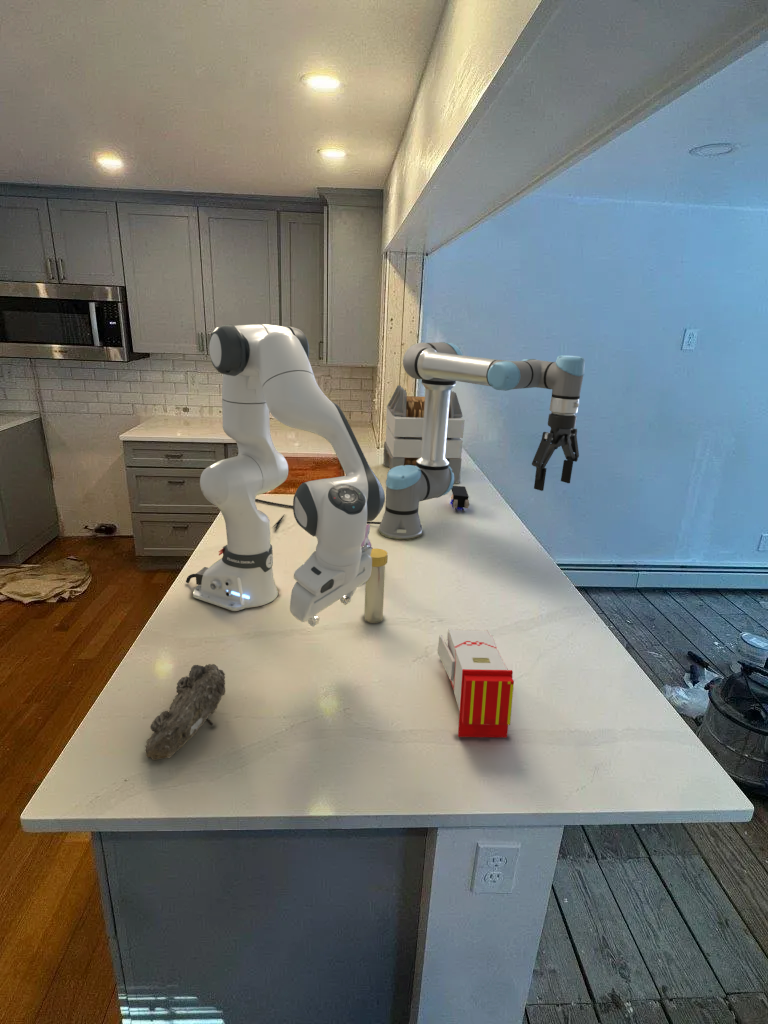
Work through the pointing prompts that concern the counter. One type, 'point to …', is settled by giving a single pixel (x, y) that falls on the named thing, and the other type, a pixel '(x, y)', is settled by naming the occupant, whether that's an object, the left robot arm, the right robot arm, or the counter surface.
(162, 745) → the fossil
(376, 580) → the bottle
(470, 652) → the toy
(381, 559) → the lid
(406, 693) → the counter surface
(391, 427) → the slatted wooden crate
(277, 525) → the feather
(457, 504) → the figurine character
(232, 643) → the counter surface
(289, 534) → the counter surface
